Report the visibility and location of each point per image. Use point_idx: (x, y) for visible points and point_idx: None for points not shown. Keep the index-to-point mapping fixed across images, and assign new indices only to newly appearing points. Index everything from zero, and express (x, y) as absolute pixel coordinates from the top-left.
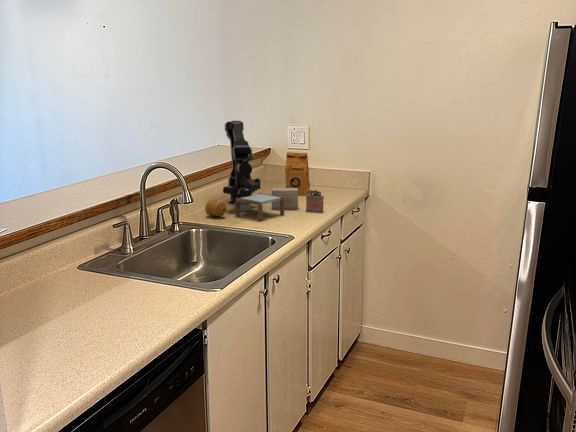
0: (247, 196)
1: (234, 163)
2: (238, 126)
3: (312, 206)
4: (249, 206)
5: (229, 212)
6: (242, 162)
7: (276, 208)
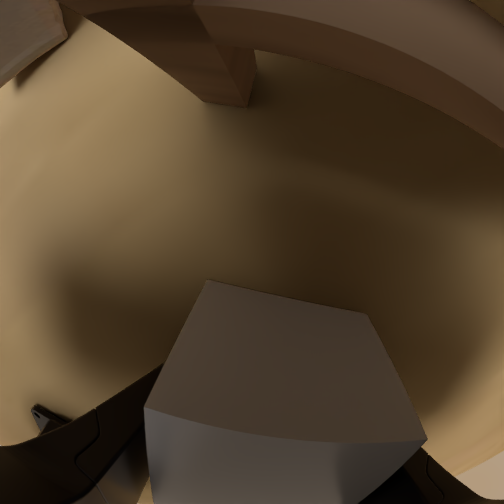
0: (123, 475)
1: None
2: None
3: None
4: (215, 304)
5: (451, 379)
6: None
7: (57, 1)
